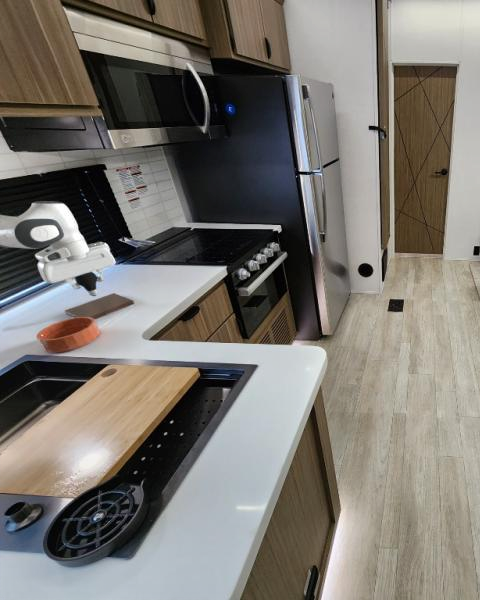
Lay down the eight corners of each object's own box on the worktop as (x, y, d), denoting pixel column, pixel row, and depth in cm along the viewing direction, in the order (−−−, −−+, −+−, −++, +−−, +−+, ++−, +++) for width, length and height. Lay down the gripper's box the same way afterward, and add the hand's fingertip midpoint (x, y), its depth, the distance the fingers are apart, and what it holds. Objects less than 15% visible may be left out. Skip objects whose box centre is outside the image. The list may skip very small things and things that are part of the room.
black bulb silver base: (100, 291, 126) (89, 266, 121) (107, 294, 123) (96, 270, 119) (81, 297, 122) (68, 272, 117) (88, 301, 119) (75, 275, 114)
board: (84, 323, 116) (82, 319, 115) (66, 314, 122) (64, 310, 121) (134, 303, 128) (132, 300, 128) (115, 296, 134) (113, 293, 134)
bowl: (56, 358, 98) (48, 344, 96) (37, 346, 104) (28, 333, 102) (109, 335, 109) (102, 322, 107) (88, 325, 115) (82, 313, 112)
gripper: (101, 239, 123) (116, 273, 130) (28, 256, 107) (49, 294, 114) (110, 241, 121) (125, 276, 127) (36, 259, 105) (58, 298, 111)
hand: (89, 284), depth 120 cm, fingers closed on black bulb silver base, 6 cm apart
